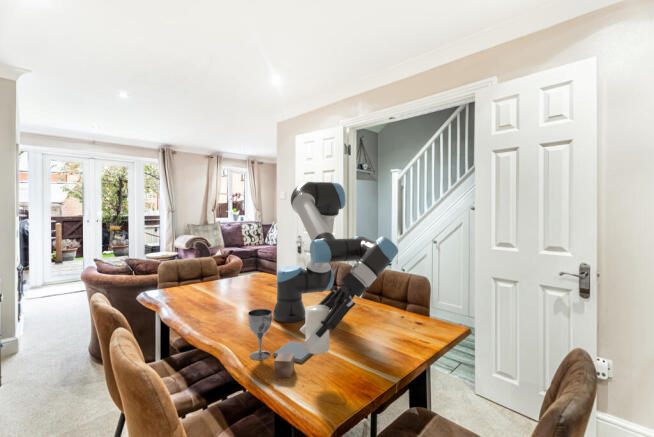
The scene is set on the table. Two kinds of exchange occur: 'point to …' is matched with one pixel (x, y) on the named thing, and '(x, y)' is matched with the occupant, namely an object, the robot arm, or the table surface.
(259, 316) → the wine glass
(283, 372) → the walnut block
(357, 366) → the table surface
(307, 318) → the white pillar candle
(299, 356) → the coaster
